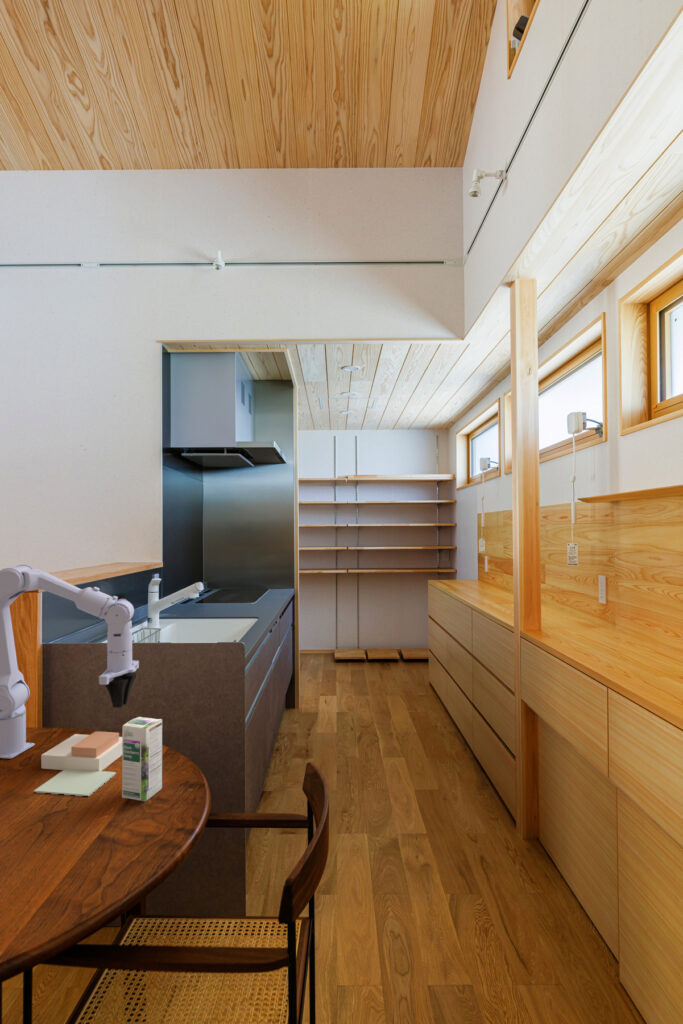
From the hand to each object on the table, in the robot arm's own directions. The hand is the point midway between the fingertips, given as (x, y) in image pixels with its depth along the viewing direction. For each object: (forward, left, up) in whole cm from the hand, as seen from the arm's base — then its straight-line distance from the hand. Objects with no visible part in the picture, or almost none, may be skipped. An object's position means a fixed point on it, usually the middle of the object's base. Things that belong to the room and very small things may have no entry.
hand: (120, 705), depth 137 cm
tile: (0, -10, -6) cm, 12 cm away
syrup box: (+18, -22, -10) cm, 30 cm away
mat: (+2, -20, -9) cm, 22 cm away
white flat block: (-3, -9, -9) cm, 13 cm away
